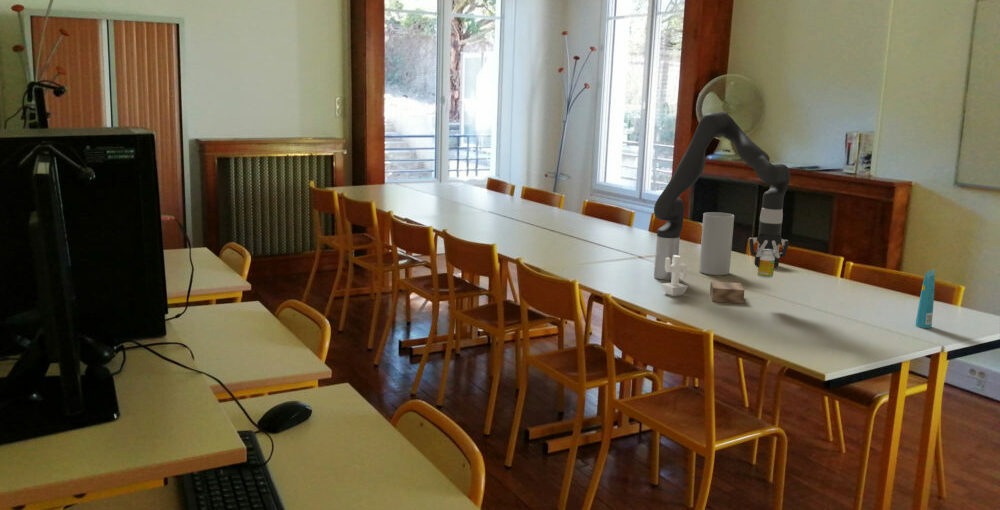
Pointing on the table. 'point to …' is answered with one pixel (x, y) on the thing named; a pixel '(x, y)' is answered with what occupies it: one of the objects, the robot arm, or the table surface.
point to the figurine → (675, 276)
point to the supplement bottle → (766, 264)
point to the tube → (926, 301)
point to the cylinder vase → (716, 243)
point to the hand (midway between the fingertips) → (766, 267)
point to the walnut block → (727, 292)
